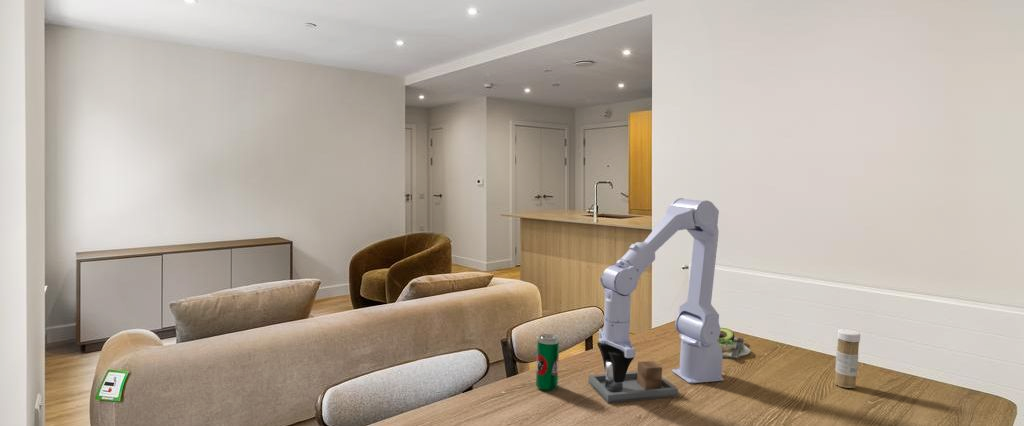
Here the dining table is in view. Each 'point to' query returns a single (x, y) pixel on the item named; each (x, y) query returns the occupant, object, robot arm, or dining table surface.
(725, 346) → the salad plate
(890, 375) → the dining table surface
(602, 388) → the tray
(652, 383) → the walnut block
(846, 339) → the sprinkles bottle
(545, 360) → the soda can
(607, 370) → the steel cylinder
